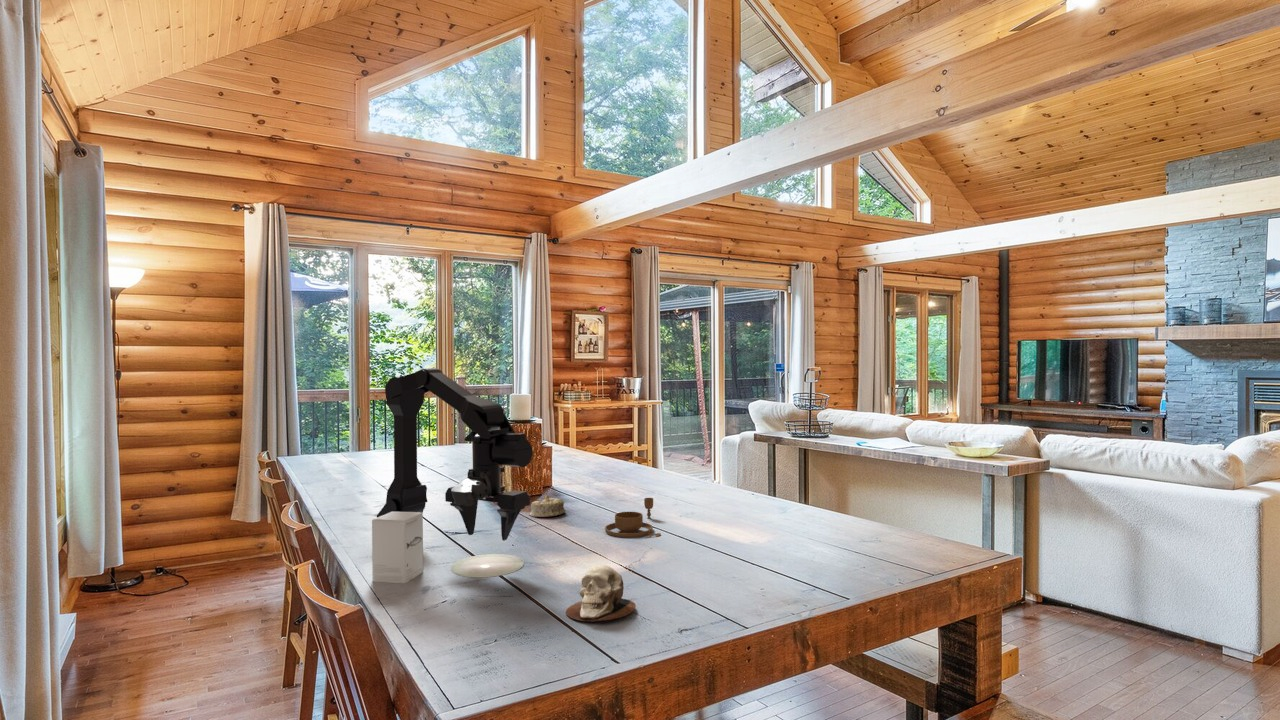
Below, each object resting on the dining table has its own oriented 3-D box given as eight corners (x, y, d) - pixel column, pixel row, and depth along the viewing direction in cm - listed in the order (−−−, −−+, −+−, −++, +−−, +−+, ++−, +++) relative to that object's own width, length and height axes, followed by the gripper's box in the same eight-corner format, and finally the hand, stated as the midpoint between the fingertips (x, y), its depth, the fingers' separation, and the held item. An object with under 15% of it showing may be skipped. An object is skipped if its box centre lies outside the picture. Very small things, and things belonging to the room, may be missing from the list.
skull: (618, 623, 113) (576, 574, 115) (583, 659, 117) (544, 610, 120) (652, 593, 123) (613, 549, 126) (619, 626, 127) (582, 582, 130)
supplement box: (405, 585, 137) (404, 520, 136) (371, 582, 138) (370, 518, 138) (424, 573, 144) (423, 511, 144) (392, 571, 145) (391, 510, 145)
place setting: (588, 531, 178) (588, 508, 178) (648, 518, 191) (648, 496, 191) (632, 545, 165) (631, 520, 164) (693, 530, 177) (693, 507, 177)
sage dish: (435, 571, 145) (435, 569, 145) (484, 552, 158) (484, 550, 158) (491, 582, 137) (491, 580, 137) (538, 561, 151) (538, 559, 151)
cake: (573, 513, 195) (572, 494, 195) (546, 520, 188) (545, 500, 187) (548, 508, 202) (548, 489, 201) (521, 515, 194) (521, 495, 194)
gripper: (425, 466, 145) (426, 541, 145) (495, 473, 136) (496, 553, 136) (463, 458, 154) (464, 528, 155) (531, 464, 145) (532, 539, 146)
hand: (487, 537), depth 147 cm, fingers open, 9 cm apart
